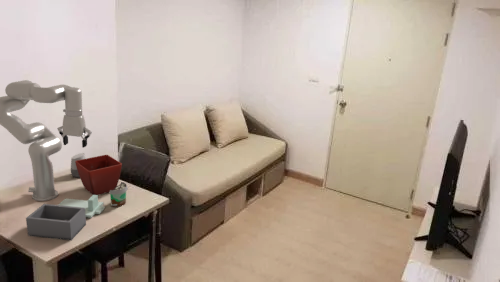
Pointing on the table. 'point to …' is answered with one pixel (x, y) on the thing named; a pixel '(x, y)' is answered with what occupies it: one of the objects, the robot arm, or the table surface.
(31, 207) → the table surface
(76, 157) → the smart speaker
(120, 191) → the food container
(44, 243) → the table surface
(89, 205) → the lid
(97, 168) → the plant pot
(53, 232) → the parts tub
